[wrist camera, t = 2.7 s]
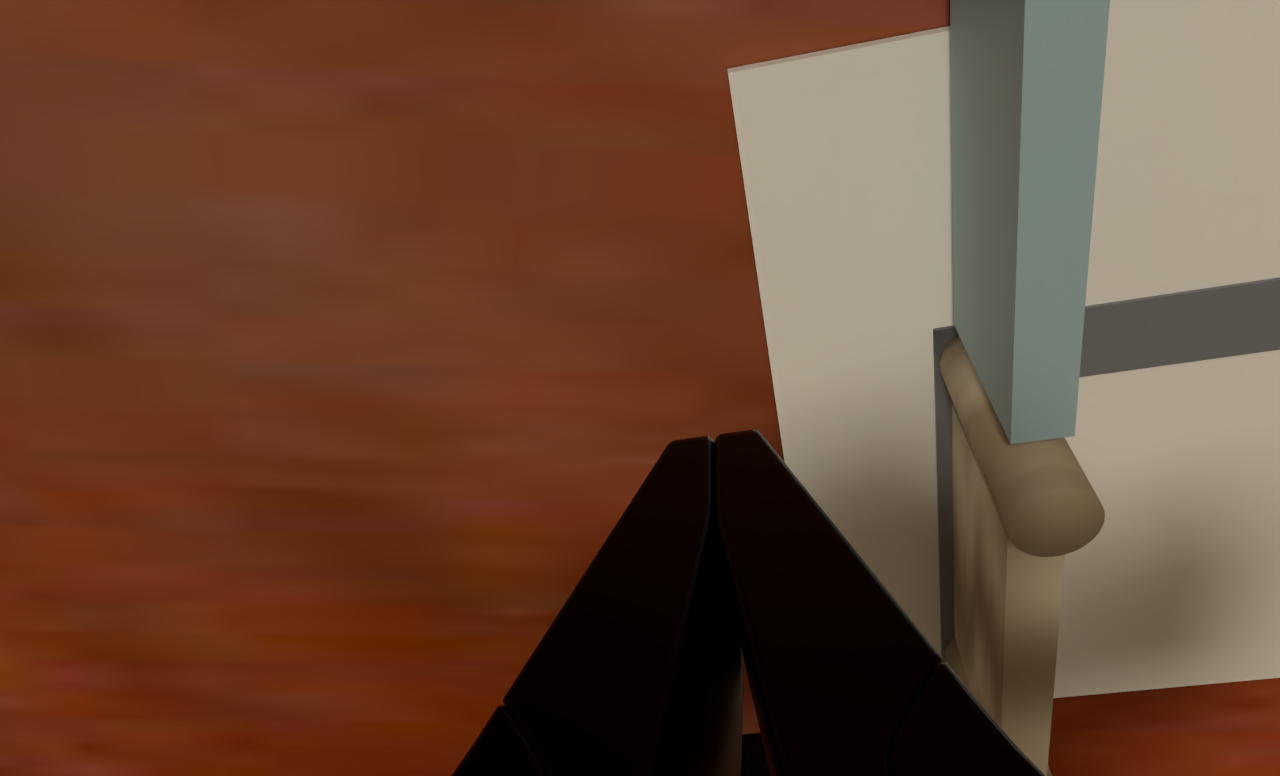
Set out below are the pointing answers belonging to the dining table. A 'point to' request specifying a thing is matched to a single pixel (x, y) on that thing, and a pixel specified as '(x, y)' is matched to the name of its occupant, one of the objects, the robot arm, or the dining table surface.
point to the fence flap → (1025, 199)
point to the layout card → (1111, 346)
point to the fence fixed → (1010, 557)
